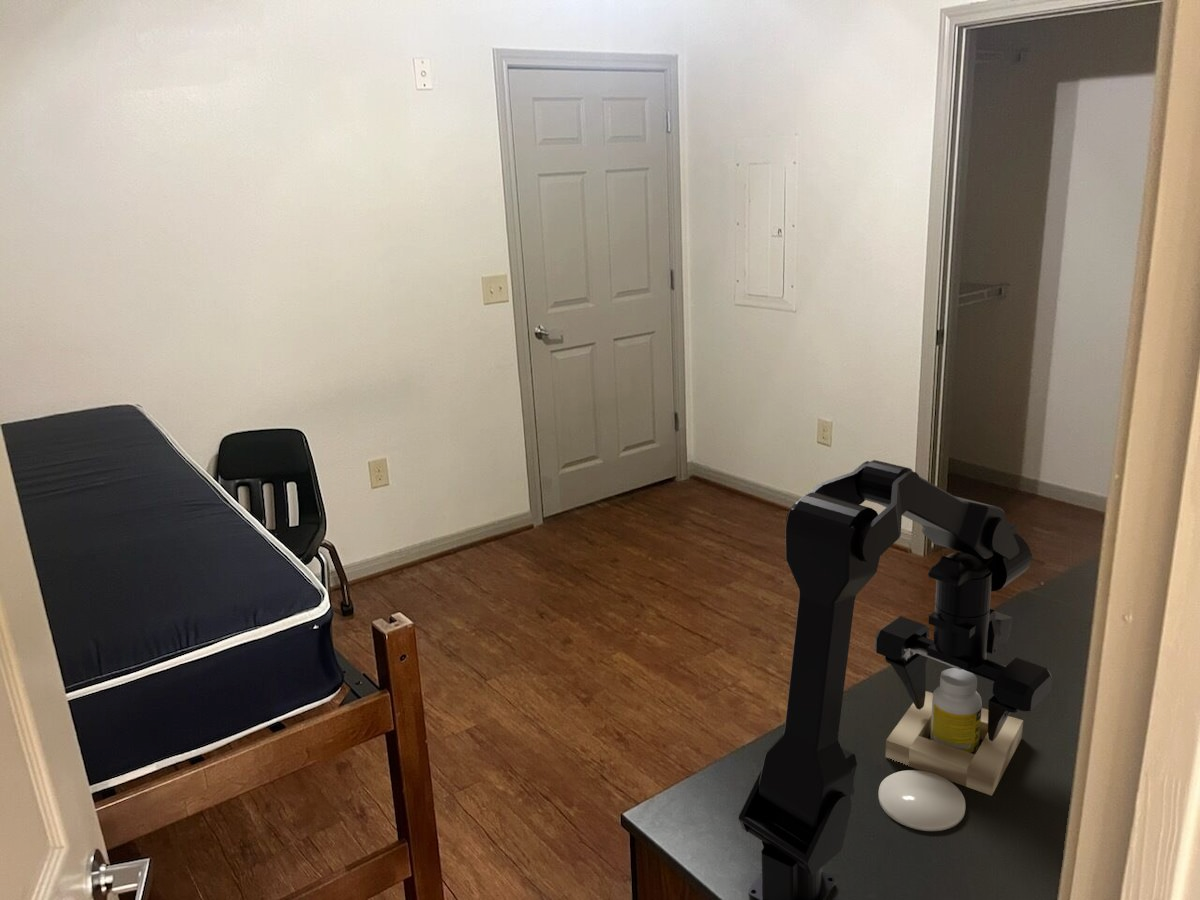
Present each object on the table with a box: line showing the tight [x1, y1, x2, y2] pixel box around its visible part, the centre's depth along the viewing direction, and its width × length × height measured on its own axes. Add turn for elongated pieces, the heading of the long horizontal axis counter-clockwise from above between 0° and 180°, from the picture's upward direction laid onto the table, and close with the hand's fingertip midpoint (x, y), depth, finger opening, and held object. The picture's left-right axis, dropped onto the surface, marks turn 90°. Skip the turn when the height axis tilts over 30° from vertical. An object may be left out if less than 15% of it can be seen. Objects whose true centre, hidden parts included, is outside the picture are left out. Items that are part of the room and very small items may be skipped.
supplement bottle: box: [929, 667, 983, 754], centre depth 105 cm, size 5×5×10 cm
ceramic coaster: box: [878, 769, 966, 832], centre depth 99 cm, size 9×9×1 cm
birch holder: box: [885, 690, 1024, 797], centre depth 107 cm, size 12×12×2 cm
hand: (955, 722), depth 106 cm, fingers open, 9 cm apart
